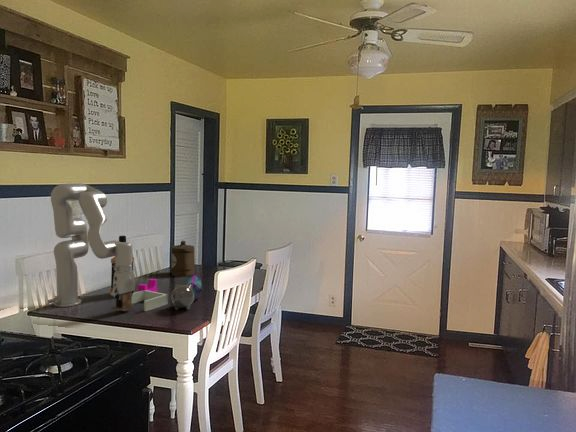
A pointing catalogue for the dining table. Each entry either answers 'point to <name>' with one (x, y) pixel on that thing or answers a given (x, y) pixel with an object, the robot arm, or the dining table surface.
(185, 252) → the brown rounded container
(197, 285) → the pencil case
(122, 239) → the whiskey bottle
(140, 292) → the u-shaped bracket
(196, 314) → the dining table surface
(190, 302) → the piggy bank
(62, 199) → the robot arm
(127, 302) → the block
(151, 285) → the toy block
